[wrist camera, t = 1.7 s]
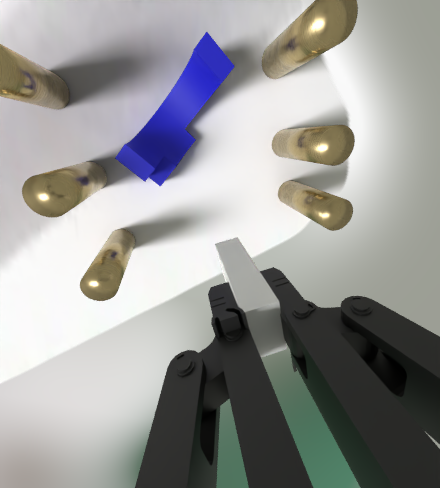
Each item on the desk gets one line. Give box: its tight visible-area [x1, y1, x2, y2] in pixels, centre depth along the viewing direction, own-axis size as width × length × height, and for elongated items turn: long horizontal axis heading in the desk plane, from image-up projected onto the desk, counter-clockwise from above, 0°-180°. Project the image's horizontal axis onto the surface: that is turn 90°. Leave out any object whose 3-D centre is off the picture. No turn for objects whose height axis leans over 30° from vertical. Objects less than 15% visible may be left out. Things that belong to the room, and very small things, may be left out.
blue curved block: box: [115, 32, 234, 186], centre depth 22 cm, size 12×4×6 cm, turn 138°
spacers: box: [0, 0, 358, 301], centre depth 21 cm, size 19×25×10 cm
